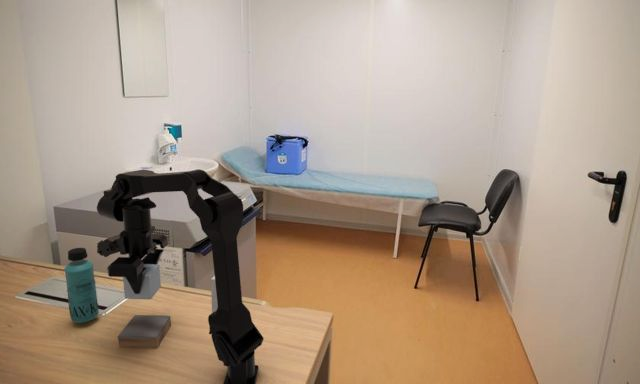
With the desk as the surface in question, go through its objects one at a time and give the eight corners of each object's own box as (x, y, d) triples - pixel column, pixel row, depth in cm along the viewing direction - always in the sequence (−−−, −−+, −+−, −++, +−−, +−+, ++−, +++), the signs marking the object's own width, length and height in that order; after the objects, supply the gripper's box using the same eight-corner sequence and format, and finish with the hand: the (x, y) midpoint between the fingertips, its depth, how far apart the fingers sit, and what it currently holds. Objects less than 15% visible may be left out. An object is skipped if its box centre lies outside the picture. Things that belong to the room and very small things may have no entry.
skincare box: (227, 322, 104) (225, 280, 101) (211, 320, 105) (210, 278, 102) (236, 310, 110) (235, 270, 107) (221, 308, 111) (220, 268, 108)
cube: (150, 299, 92) (149, 275, 91) (125, 298, 92) (122, 275, 90) (160, 286, 98) (159, 264, 96) (136, 286, 98) (134, 263, 96)
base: (157, 347, 93) (156, 336, 93) (119, 347, 93) (117, 336, 93) (171, 325, 102) (170, 315, 101) (135, 325, 102) (134, 314, 101)
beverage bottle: (65, 323, 102) (54, 251, 97) (90, 311, 108) (81, 242, 103) (81, 331, 99) (70, 257, 94) (106, 318, 105) (97, 247, 100)
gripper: (122, 211, 100) (127, 268, 104) (78, 239, 81) (87, 306, 85) (166, 213, 100) (170, 269, 104) (132, 240, 82) (138, 308, 86)
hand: (143, 286), depth 95 cm, fingers closed on cube, 6 cm apart
